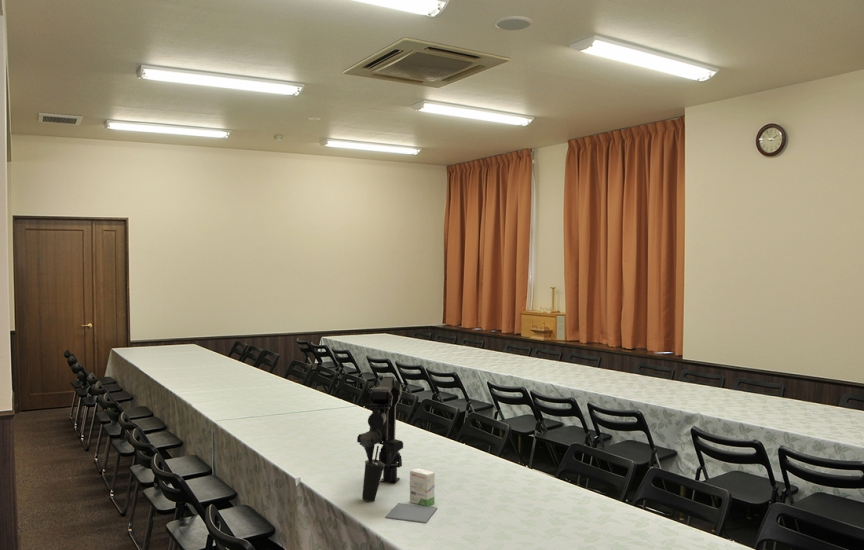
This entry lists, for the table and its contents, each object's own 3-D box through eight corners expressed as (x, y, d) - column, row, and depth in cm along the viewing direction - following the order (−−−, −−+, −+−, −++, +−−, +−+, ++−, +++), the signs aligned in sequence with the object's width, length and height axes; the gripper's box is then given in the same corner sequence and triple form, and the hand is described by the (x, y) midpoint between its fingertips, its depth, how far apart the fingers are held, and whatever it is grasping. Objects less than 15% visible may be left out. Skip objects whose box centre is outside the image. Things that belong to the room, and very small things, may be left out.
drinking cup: (356, 495, 241) (365, 442, 242) (375, 496, 243) (384, 444, 245) (361, 501, 234) (371, 447, 235) (380, 503, 236) (390, 449, 238)
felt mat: (398, 504, 235) (398, 502, 235) (437, 508, 231) (437, 507, 231) (384, 518, 222) (384, 516, 222) (426, 523, 217) (426, 521, 217)
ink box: (435, 503, 236) (435, 471, 236) (426, 507, 232) (427, 475, 232) (417, 498, 242) (417, 467, 242) (409, 501, 238) (409, 470, 238)
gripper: (347, 422, 236) (346, 464, 236) (383, 431, 224) (382, 475, 224) (368, 417, 244) (367, 457, 245) (404, 425, 233) (403, 468, 233)
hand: (379, 464), depth 236 cm, fingers open, 9 cm apart
